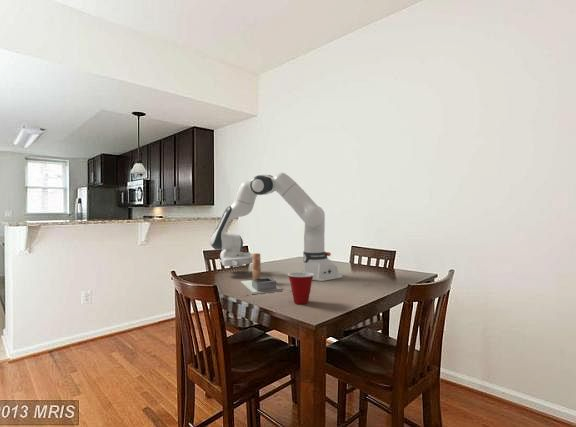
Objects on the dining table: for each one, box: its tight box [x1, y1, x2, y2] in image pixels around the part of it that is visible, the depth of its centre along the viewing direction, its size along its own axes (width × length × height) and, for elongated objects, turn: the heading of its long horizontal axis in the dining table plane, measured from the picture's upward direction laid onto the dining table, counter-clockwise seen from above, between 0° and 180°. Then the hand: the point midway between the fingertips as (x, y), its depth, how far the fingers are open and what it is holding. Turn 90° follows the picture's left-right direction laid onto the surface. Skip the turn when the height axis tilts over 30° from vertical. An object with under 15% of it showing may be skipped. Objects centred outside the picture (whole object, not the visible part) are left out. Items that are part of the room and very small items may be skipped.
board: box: [240, 276, 283, 296], centre depth 157 cm, size 14×22×5 cm, turn 22°
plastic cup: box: [287, 271, 314, 305], centre depth 134 cm, size 11×11×12 cm
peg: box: [251, 253, 262, 279], centre depth 163 cm, size 4×4×14 cm
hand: (246, 262), depth 173 cm, fingers open, 8 cm apart
